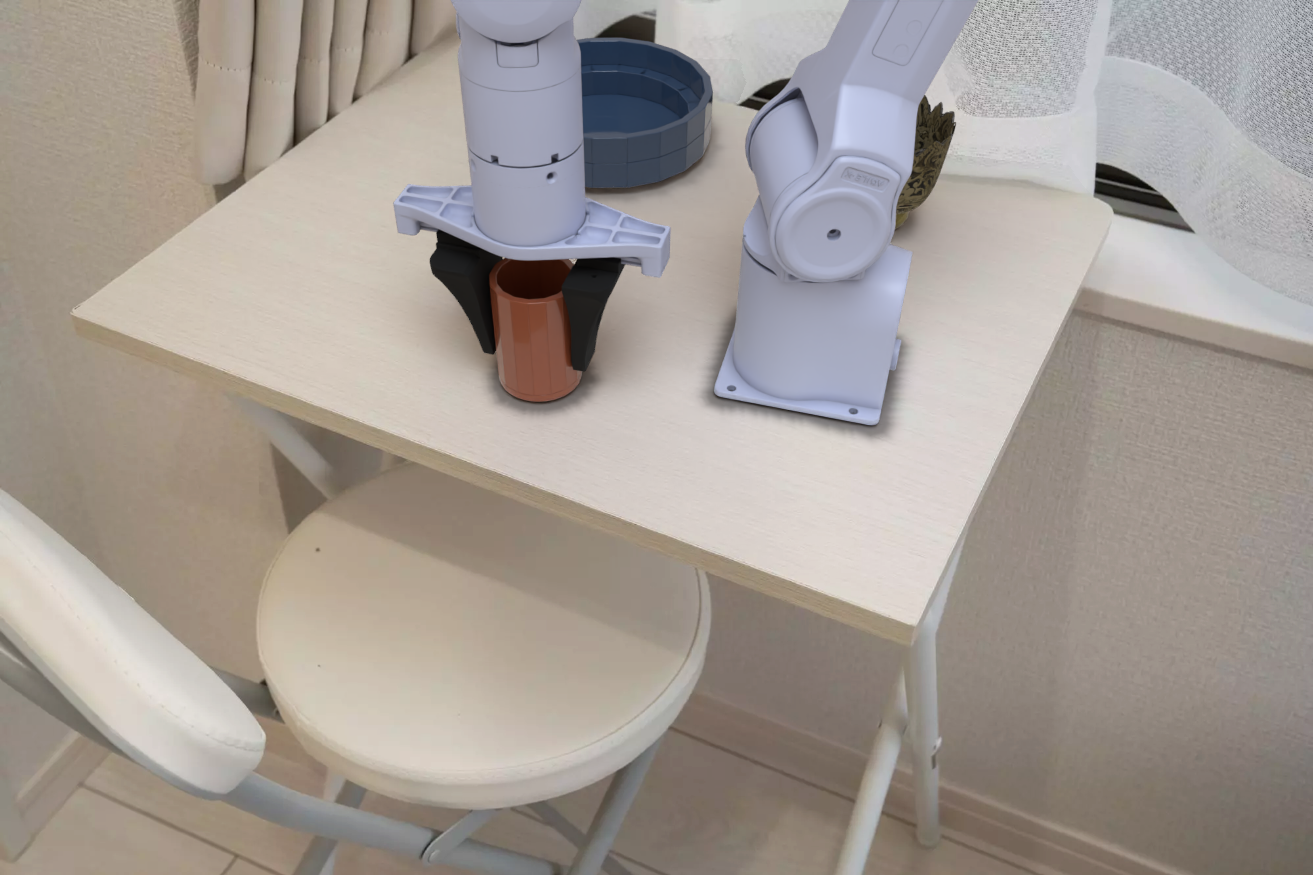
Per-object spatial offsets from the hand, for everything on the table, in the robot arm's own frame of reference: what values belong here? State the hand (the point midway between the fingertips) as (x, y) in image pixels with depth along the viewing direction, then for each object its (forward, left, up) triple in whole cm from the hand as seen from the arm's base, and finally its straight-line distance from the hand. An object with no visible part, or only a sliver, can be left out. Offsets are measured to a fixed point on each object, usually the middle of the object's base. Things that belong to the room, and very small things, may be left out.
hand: (539, 351), depth 67 cm
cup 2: (-17, -22, -2) cm, 28 cm away
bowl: (+4, -27, -2) cm, 27 cm away
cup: (0, 0, -2) cm, 2 cm away
